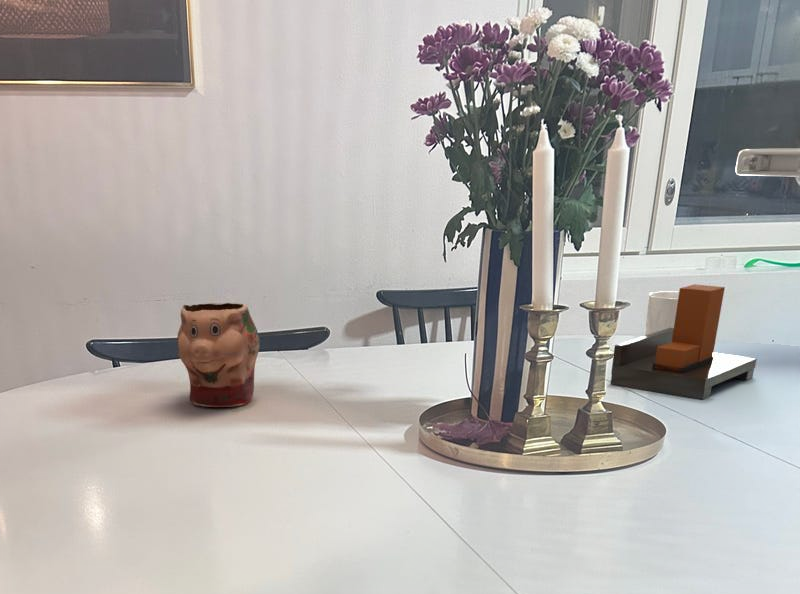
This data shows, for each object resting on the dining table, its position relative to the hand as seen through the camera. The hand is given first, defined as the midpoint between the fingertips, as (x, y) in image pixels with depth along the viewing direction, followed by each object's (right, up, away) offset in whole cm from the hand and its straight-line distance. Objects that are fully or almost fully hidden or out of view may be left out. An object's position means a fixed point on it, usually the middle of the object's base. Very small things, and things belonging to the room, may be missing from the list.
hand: (773, 164), depth 139 cm
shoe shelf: (-11, -30, +8) cm, 33 cm away
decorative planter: (-83, -34, +5) cm, 89 cm away
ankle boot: (-12, -28, +5) cm, 31 cm away
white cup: (-7, -21, +25) cm, 33 cm away
